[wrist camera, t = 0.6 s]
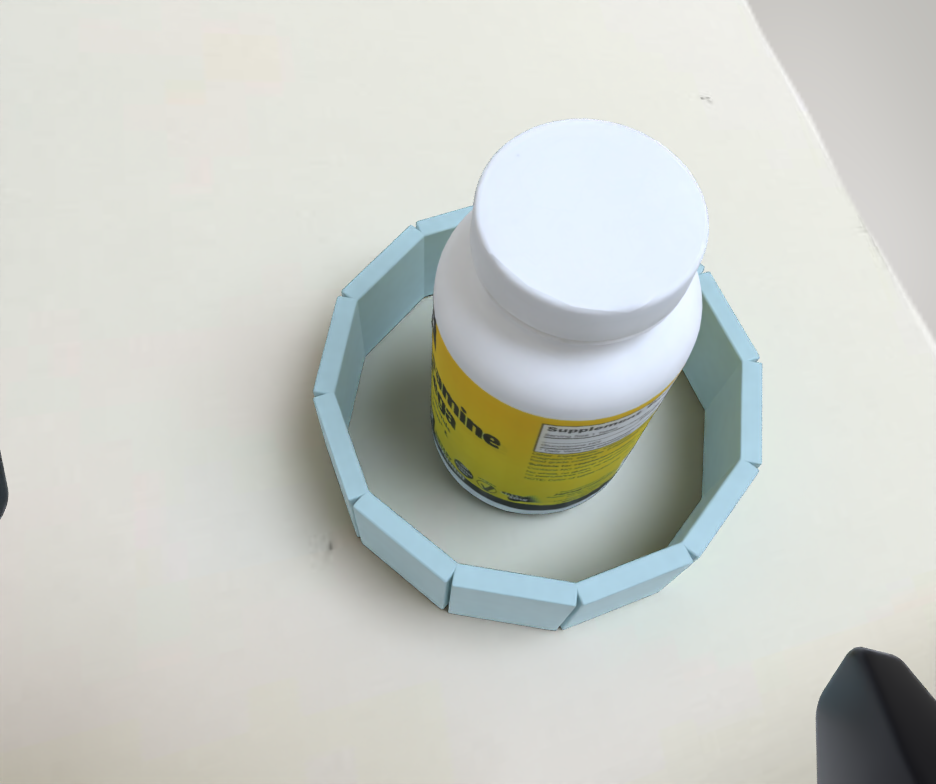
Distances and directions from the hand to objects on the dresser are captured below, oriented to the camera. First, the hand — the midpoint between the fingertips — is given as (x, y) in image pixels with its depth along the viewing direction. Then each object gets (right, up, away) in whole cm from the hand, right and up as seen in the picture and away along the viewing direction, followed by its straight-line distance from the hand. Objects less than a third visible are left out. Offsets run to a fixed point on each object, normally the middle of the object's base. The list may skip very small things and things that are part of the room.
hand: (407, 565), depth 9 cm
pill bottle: (+2, +1, +18) cm, 18 cm away
